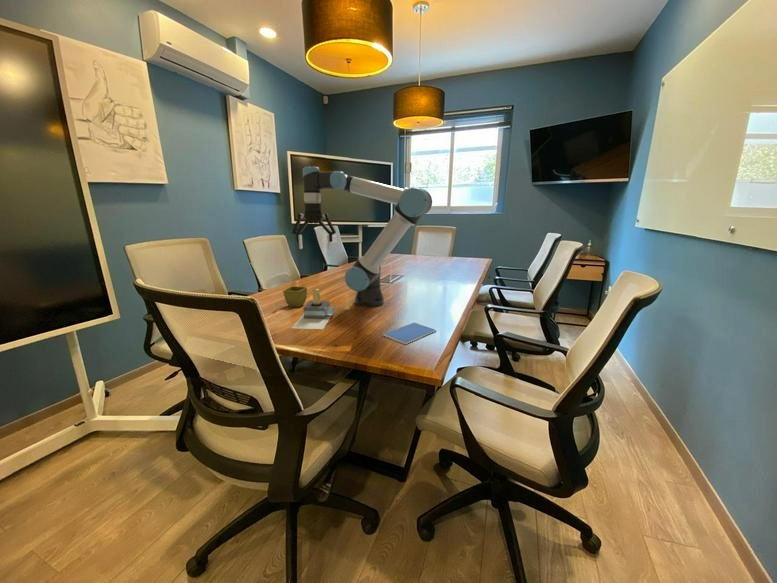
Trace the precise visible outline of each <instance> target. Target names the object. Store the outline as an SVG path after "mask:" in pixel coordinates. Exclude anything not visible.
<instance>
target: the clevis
mask: <svg viewBox="0 0 777 583" xmlns="http://www.w3.org/2000/svg"><path fill="white" fill-rule="evenodd" d="M330 305H331V303H330V300H320V306H313V300H309V301H308V302H307V303H306V304H304V306H303V314H304V319H325V318H326V316H327V315H328V314H332V315H333V314H334V313H335V311H336V310H335V308H336V307H335V306H330Z"/></svg>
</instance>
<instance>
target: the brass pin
mask: <svg viewBox="0 0 777 583" xmlns="http://www.w3.org/2000/svg"><path fill="white" fill-rule="evenodd" d="M320 292H321V291H320V288H317V287H316V288H312V301H313V306H320V301H321V294H320Z"/></svg>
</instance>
